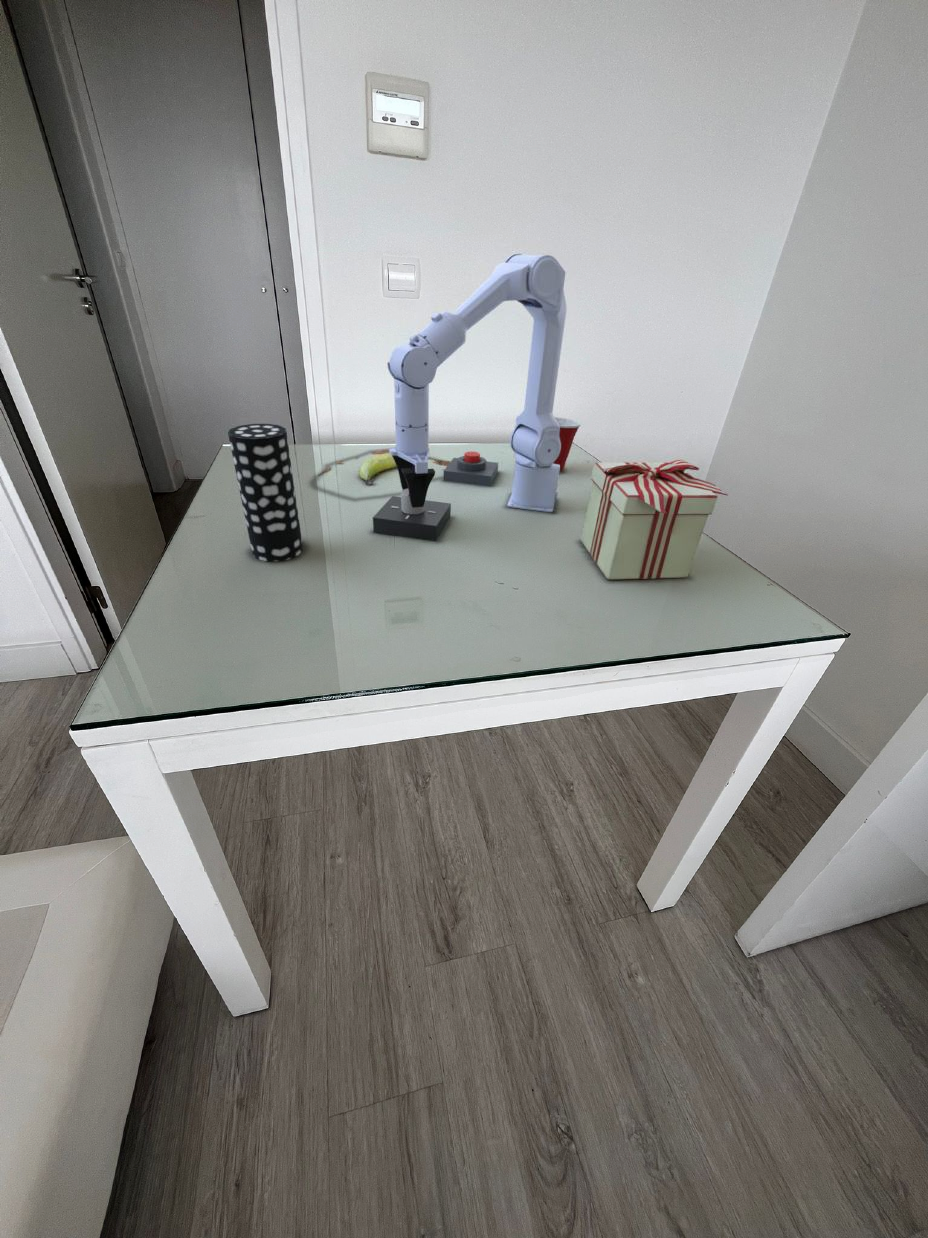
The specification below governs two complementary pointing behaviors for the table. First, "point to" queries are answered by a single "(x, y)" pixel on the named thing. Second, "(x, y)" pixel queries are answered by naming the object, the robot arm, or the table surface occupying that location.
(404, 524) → the timer panel
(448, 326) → the robot arm
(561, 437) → the plastic cup
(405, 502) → the timer knob
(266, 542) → the spotted tube
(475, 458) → the power button
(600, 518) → the gift box
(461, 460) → the switch block
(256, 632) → the table surface
